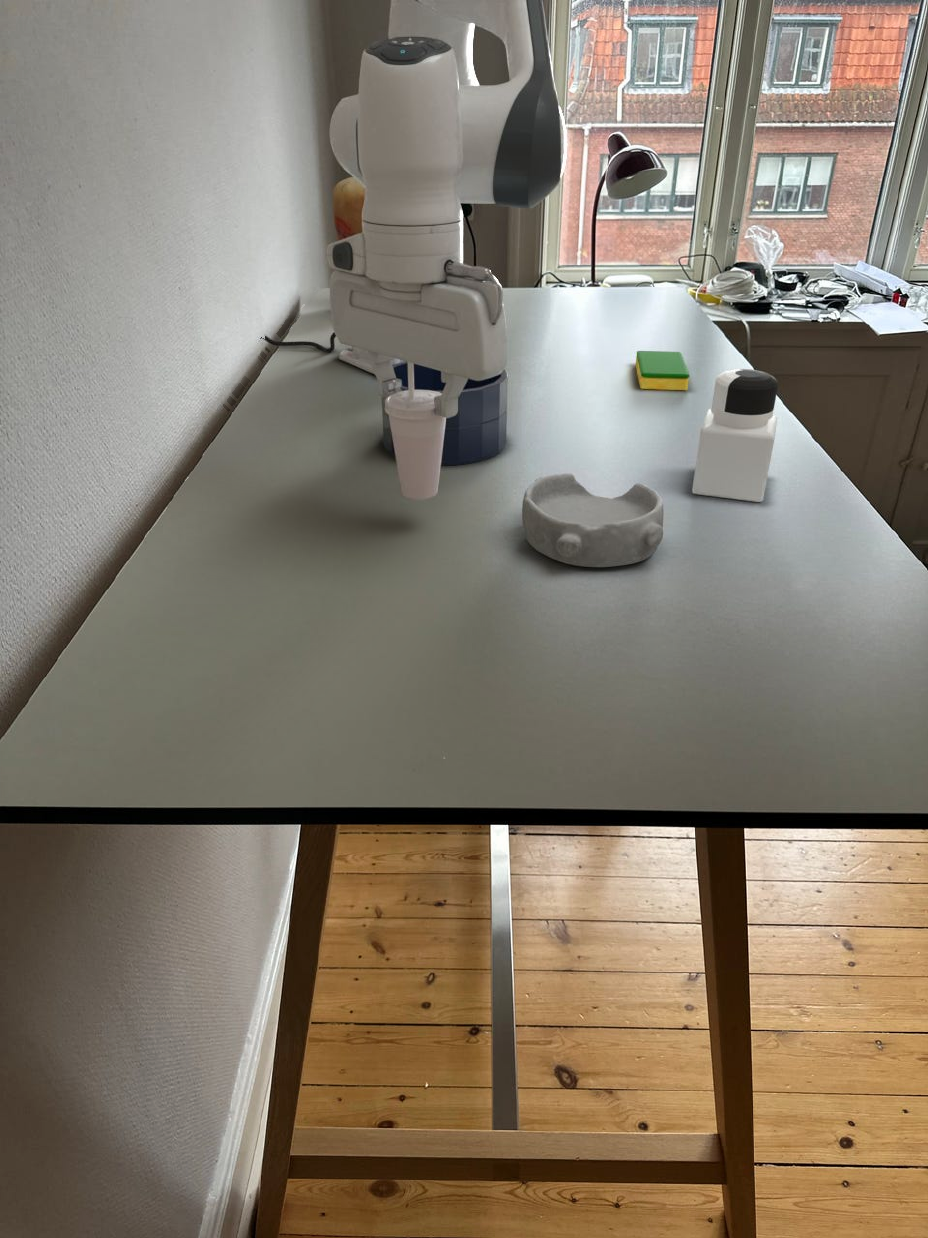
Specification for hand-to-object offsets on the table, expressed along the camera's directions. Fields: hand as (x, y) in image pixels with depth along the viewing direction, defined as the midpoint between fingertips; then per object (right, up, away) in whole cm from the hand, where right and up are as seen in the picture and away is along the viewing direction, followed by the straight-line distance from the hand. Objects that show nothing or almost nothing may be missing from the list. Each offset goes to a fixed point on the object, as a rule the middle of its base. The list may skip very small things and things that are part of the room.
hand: (417, 406), depth 86 cm
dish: (+17, -13, +3) cm, 22 cm away
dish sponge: (+36, +17, +54) cm, 67 cm away
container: (+35, -6, +16) cm, 39 cm away
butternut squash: (-15, +43, +97) cm, 107 cm away
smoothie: (0, -8, +5) cm, 9 cm away
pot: (+2, +2, +28) cm, 28 cm away
